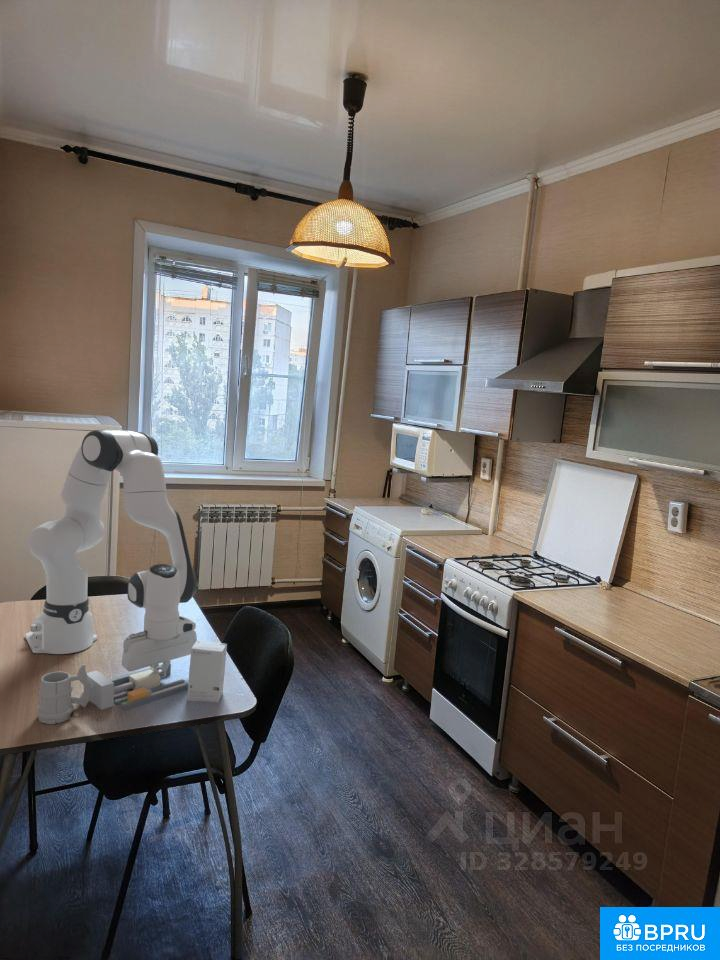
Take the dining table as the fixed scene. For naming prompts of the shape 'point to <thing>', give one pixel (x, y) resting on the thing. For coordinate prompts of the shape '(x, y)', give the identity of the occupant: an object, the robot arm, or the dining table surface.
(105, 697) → the base
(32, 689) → the dining table surface
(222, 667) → the skincare box
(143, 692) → the orange rectangular block
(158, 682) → the cream block with rods
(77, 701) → the mug
